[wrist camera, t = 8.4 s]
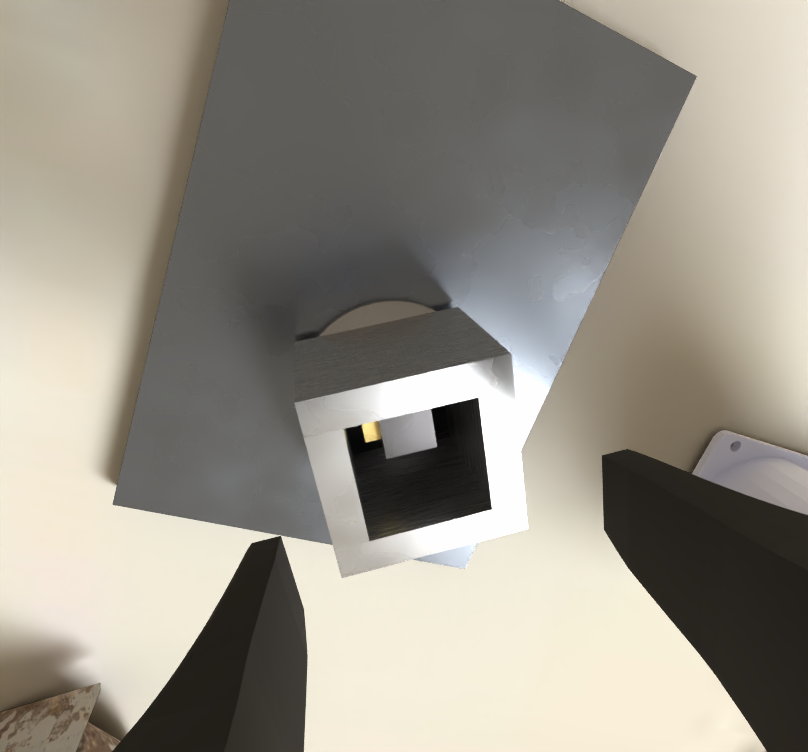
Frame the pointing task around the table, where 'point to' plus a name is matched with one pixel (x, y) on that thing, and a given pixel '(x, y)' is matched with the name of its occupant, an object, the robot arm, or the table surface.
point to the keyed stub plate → (381, 224)
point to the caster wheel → (55, 725)
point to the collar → (420, 471)
